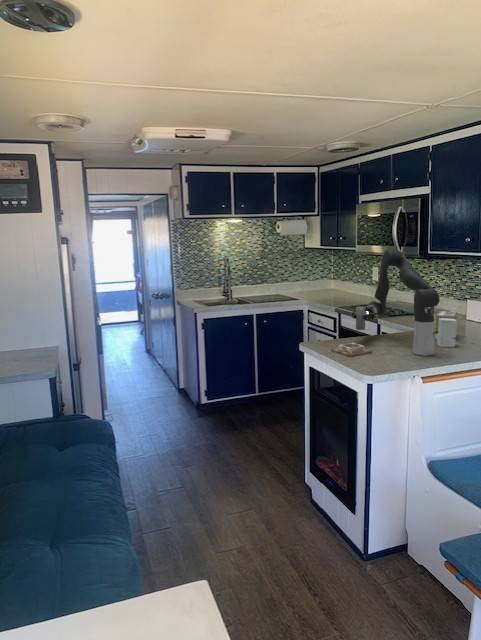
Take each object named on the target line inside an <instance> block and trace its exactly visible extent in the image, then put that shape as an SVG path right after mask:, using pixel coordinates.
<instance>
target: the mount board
mask: <svg viewBox="0 0 481 640" xmlns="http://www.w3.org/2000/svg"><path fill="white" fill-rule="evenodd" d="M330 351H331V352H333V353H337V354H339V355H342V356H345V357H348V358H351V357H353V358H354V357H358V356H363V355H369V354H373V350H369V349H366V346H364V345H362V344H359V343H355V342H348V343H343V344H338V347H337V348H336V347H335V348H330Z"/></svg>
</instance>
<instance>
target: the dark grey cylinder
mask: <svg viewBox="0 0 481 640" xmlns="http://www.w3.org/2000/svg"><path fill="white" fill-rule="evenodd" d="M365 309H366V306H356V307H355V312H356V318H355V330H358V331H364V330H366V320H365V319H363V318H364V315H365Z"/></svg>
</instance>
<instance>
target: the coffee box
mask: <svg viewBox="0 0 481 640" xmlns="http://www.w3.org/2000/svg"><path fill="white" fill-rule="evenodd" d="M425 312H426V313H428V314H431V315H433V316H434V317H435V315H434V314H435V307H426V308H425Z"/></svg>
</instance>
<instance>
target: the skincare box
mask: <svg viewBox="0 0 481 640" xmlns="http://www.w3.org/2000/svg"><path fill="white" fill-rule="evenodd" d="M456 329H458V319H457V320H455V319H446V318H439V325H438V337H437V340H436V345H437V346H438V347H440V348H442V347H443V348H444V347H445V348H447V347H448V348H451V347H452V348H456V339H457V335H456Z"/></svg>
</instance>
